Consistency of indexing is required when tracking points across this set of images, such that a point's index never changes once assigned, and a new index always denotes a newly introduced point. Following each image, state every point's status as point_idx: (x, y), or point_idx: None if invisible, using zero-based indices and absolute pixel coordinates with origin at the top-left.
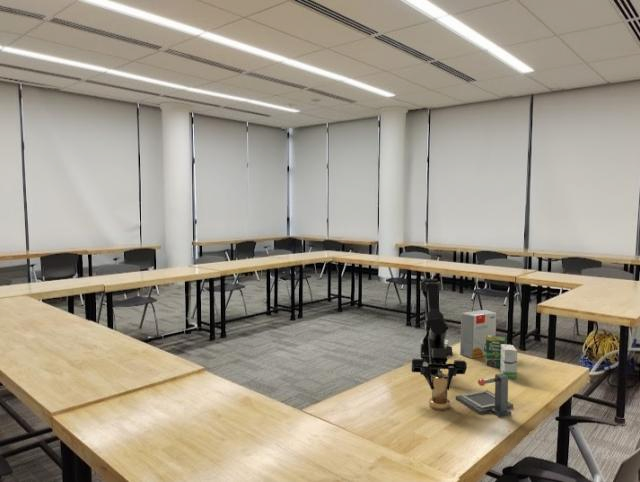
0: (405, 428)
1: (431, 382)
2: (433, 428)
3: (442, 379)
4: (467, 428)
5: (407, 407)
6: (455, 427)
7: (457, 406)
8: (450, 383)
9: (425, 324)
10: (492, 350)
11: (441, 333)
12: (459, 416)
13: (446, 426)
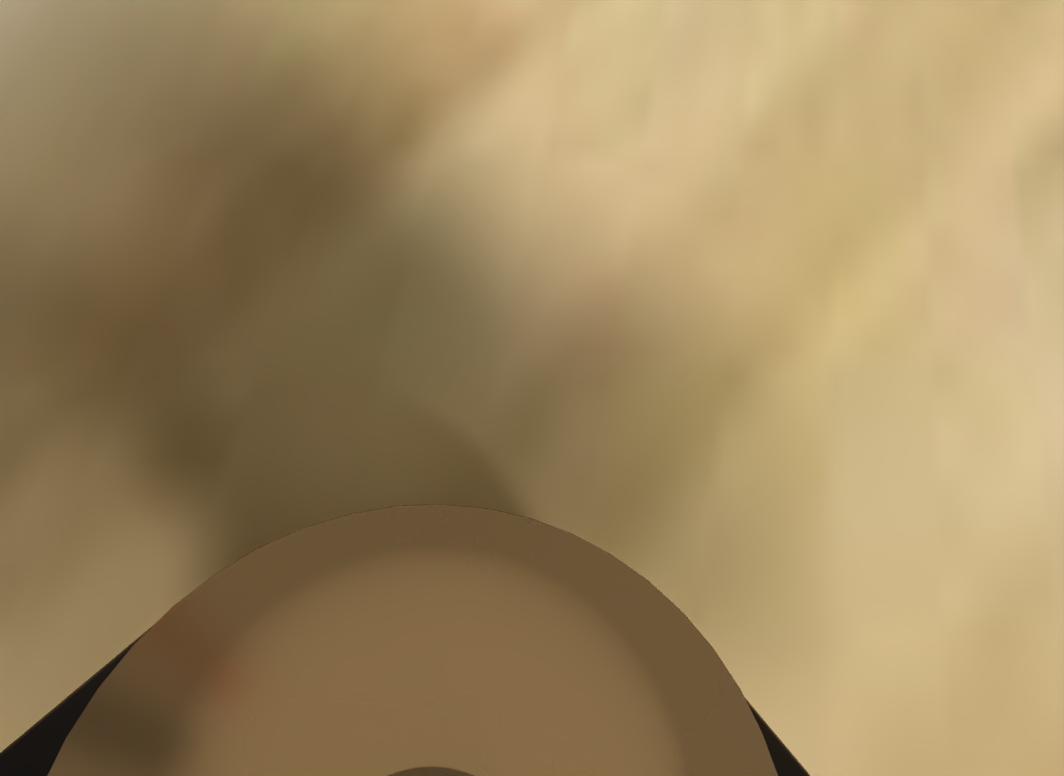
0: (946, 59)
1: None
2: (639, 49)
3: (367, 571)
4: (218, 36)
5: (947, 622)
6: (366, 62)
7: None
8: (31, 731)
9: None
10: None
11: None
12: (206, 348)
13: (474, 87)
